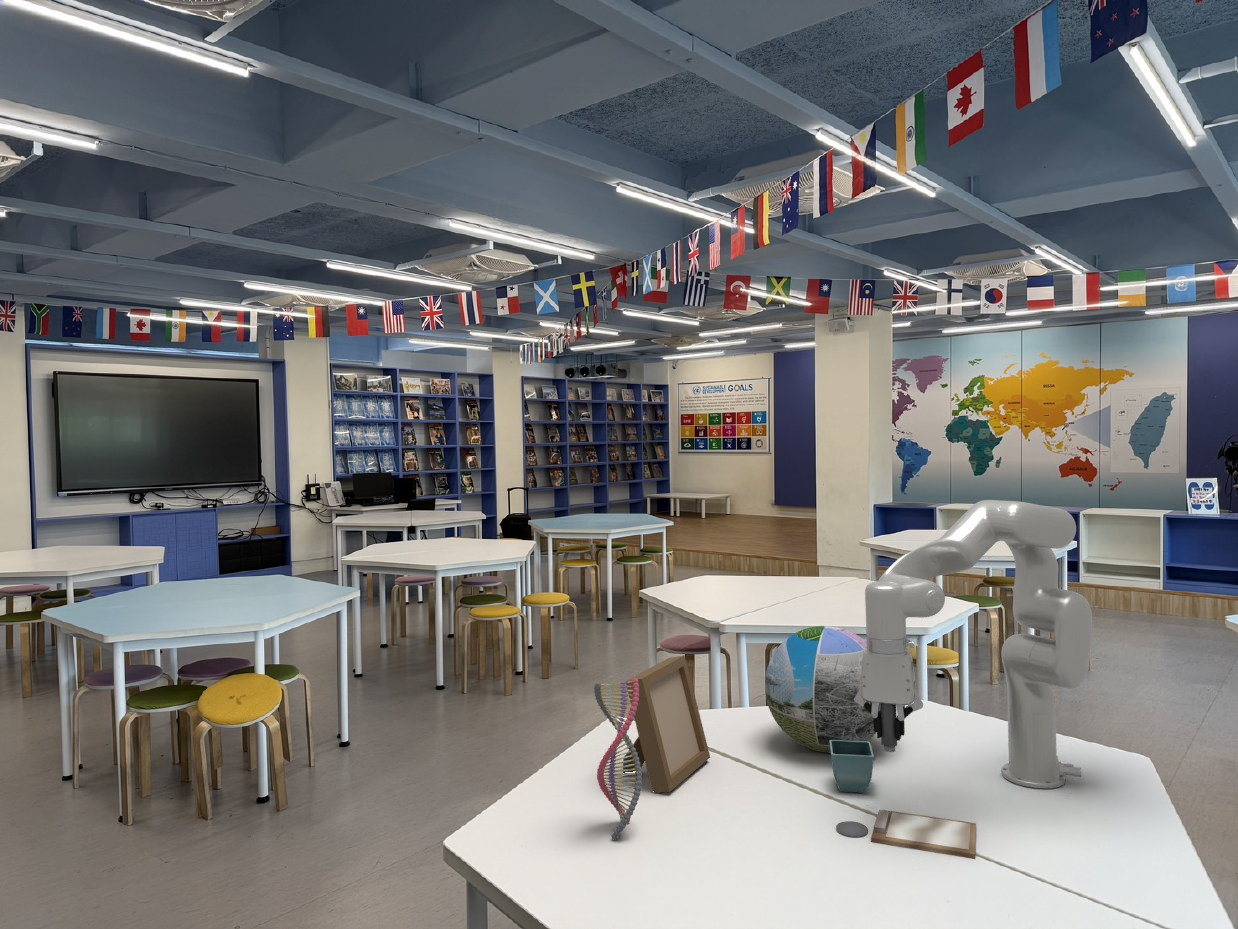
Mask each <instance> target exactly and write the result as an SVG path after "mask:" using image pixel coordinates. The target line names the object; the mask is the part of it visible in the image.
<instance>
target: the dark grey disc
mask: <svg viewBox="0 0 1238 929" xmlns="http://www.w3.org/2000/svg"><path fill="white" fill-rule="evenodd" d="M835 830H836V832H837V833H838V834H840V835H842V836H844V837H848V838H857V839H858V838H862V837H863V838H864V837H865V836H867V835H868V834H869V828H868V827H867V826H866V825H865V824H863V823H862V822H858V821H852V820H851V821H849V820H848V821H847V820H846V821H841V822H839V823H837V824H836V825H835Z"/></svg>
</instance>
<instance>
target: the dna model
mask: <svg viewBox="0 0 1238 929" xmlns="http://www.w3.org/2000/svg"><path fill="white" fill-rule="evenodd" d="M638 682H639V681H638V679H637V678H634V679H632V681H628V682H627V680H623V681H620V682H612V683H601V682H600V681H596V682H595V683H594V688H593V689H594V690H593V691H594V697H595V700H596V703H597V704H598V706H599V708H600V710H601V711H602V713H603V714H604V715H603V716H605V717H606V718H607V720H608V721H609V723H611V725H612V727H614V730H616V731H617V734H616V736H615V738H614V740H613V741H612V743H611V744H610V745H609V747H608V748H607V751H605V753H604V754H603V756H602V758H601V759H600V761H599V764H598V768H597V771H596V773H597V774H596V779H597V782H598V786H599V789H600V790H601V792H602V793H603V795H605V798H607V800H608V801H609V802H610V805H613V808H614V809H615V811H617V813H618V815H619V823H618V825H617V826H616V827H615V829H614V830H613V833H612V834H611V836H610V837H611V839H612V840H613V839H614V841H617V839H618V838H619V837H620V835H621V833H622V832H623V831H624V829H625V828H626V826H627V825H628V822H629V823H630V821H631V818H632V817H631V816H633V815H634V811H635V809H636V807H637V805H638V801H639V800H640V798H639V797H640V795H641V791H642V780H643V777H642V775H643V774H642V769H641V767H640V765H641V764H640V762H639V757H638V753H637V752H636V748H634V743H632V739H631V738H630V736H629V735H628V731H630V726H631V725H632V722H633V721H634V720H635V719H634V716H635V712H636V711H637V706H638V701H639V684H638ZM628 683H632V684H633V685H632V686H627V685H626V684H628ZM614 685H621V686H614ZM606 686H607V687H606ZM609 686H610V687H609ZM629 687H633V690H627V688H629ZM609 689H612V690H609ZM613 689H616V690H613ZM632 691H633V694H628V692H632ZM620 692H621V693H620ZM606 696H607V697H606ZM610 696H611V697H610ZM612 696H614V697H612ZM629 696H633V698H632V699H630V698H628V697H629ZM611 700H612V701H611ZM613 700H615V701H613ZM630 700H631V701H633V702H632V703H631V702H630V703H629V702H627V701H630ZM611 703H612V704H611ZM619 704H620V705H619ZM629 706H630V707H629ZM617 708H619V709H617ZM611 710H612V711H611ZM626 710H629V711H626ZM619 712H620V713H619ZM614 714H615V715H614ZM626 714H628V715H626ZM616 715H618V716H619V717H618V716H616ZM623 742H624V743H623ZM622 743H623V744H622ZM624 746H626V747H624ZM623 747H624V748H623ZM622 748H623V749H622ZM618 750H619V751H618ZM626 750H628V751H626ZM623 751H625V752H623ZM621 752H623V753H621ZM627 753H631V755H630V756H626V757H624V756H625V755H626V754H627ZM623 755H624V756H623ZM620 756H623V757H620ZM618 757H619V758H618ZM627 757H632V758H633V760H627V761H622V760H623V759H624V758H627ZM617 761H620V762H617ZM631 761H633V762H634V764H629V765H625V766H623V763H627V762H631ZM616 765H617V766H616ZM618 765H619V766H618ZM628 766H635V768H634V769H624V770H623V767H628ZM621 768H622V769H621ZM616 769H618V770H616ZM631 770H635V771H636V772H635V773H624V774H623V771H631ZM621 772H622V773H621ZM622 775H628V776H632V775H635V777H617V776H622ZM616 780H635V782H634V781H616ZM621 784H624V785H621ZM625 784H626V785H625ZM627 784H629V785H634V786H628V785H627ZM623 788H626V789H631V790H633V791H630V790H626V789H623ZM618 791H619V792H618ZM621 792H625V793H628V794H624V793H621ZM629 793H630V795H629ZM631 794H633V795H631ZM623 796H624V797H628V798H631V800H629V799H628V798H624V797H623ZM621 799H622V800H624V801H626V802H629V804H628V803H626V802H624V801H622V800H621ZM624 805H625V806H626V807H625V806H624ZM627 807H628V808H627Z"/></svg>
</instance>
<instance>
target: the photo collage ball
mask: <svg viewBox="0 0 1238 929" xmlns="http://www.w3.org/2000/svg"><path fill="white" fill-rule="evenodd" d="M864 649H867V640H865V639H863V638H862V637H861V636H859V635H858V634H856V633H854V632H852V631H850V630H847V629H844V628H841V627H837V626H831V625H817V626H811V627H807V628H804V629H801V630H798V631H796V632H795V633H793V634H791V635H790V636H788V637H787V638H786V639H785V640H783V642H782V643H780V645H779V646H778V647H777V648H776V649H775V651H774V653H773V654H772V656H771V658H770V660H769V662H768V665H767V668H766V672H765V677H764V693H765V699H766V702H767V705H768V709H769V712H770V713H771V716H772V717H773V719H774V721H775V722H776V724H777V725H778V727H779V728H780V729H781V730H782V731H783V732H784V734H785V735H787V736H788V737H789V739H791V740H793V741H794V742H796V743H797V744H799V745H801V746H803V747H805V748H807V749H810V750H812V751H817V752H820V753H830V754H831V750H830V742H829V741H830V740H844V741H866V742H869V740H871V739H872V738H873V737H874V736H875V735H877V732H874V720H873V717H872V716H871V714H870V713H869V712H868V711H867V710H866V709H865V708H864V707H863V706H861V705H860V704H858V703H856V702H855V701H854V698H855V696H856V695H857V693H858V691H859V689H860V687H861V667H862V658H863V652H864ZM871 703H872V702H871Z"/></svg>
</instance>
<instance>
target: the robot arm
mask: <svg viewBox="0 0 1238 929" xmlns="http://www.w3.org/2000/svg"><path fill="white" fill-rule="evenodd" d="M1076 532H1077V525H1076V521H1075V519H1074V517H1073V515H1072V514H1071V513H1070V512H1068V510H1065V509H1064V508H1059V507H1054V506H1047V505H1042V504H1036V503H1031V502H1025V501H1017V500H997V499H984V500H979V501H978V502H976V503H974V504H972V506H970V507H969V508H968V510H967V511H965V513H964V514H963V515H961V517H960V518H958V520H956V522H954V523H953V525H951V527H950V528H949V529H948V530H946V532H945V533H944V534H943V535H941V537H939V538H938V539H935V540H933V541H930V542H929V543H926V544H924V545H922V546H920V547H918V548H915V549H914V550H911V551H909V552H907V553H906V554H903V555H902V556H901V557H899V558H898V559H897V560H895V561H894V562H893V563H892V564H891V565H890V566H889V567H888V568H887V569H886V570H885V571H884V572H883V573H882V574H881V576H880V577H879V579H878V580H877V581H874V582H871V583H868V584H867V585H866V586H865V590H864V602H865V603H864V604H865V630H866V642H867V649H864V652H863V658H862V667H861V687H860V689H859V691H858V693H857V695H856V696H855V698H854V701H855V702H856V703H858V704H860V705H861V706H863V707H864V708H865V709H866V710H867V711H868V712H869V713H870V714H871V716H872V717H873V720H874V732H876V738H877V739H879V740H881V714H880V703H884V704H895V705H896V717H897V719H896V721H895V729H896V740H897V742H898V741H899V742H900V741H901V739H902V736H905V732H906V731H905V719H906V718H907V717H909V716H910V715H911V714H913V713H914V712H916V711H919V710H922V709H923V707H924V703H923V700H922V698H921V696H920V695H919V694H918V692H917V684H916V674H915V666H914V665H915V664H914V660H913V656H912V652H911V651H910V650H908V649H915V641H914V640H910V639H909V638H908V636H907V618H923V619H924V618H930V617H933V616H935V615H937V614H939V612H941V611H942V609H943V608H944V605H945V603H946V596H945V592H944V590H943V589H942V587H941V586H940V585H939V584H938V583H936V582H935V581H932V580H929V579H931V578H935V577H938V576H939V577H940V576H946V575H952V574H956V573H960V572H964V571H968V570H970V569H972V568H973V567H974V566H975V565H976V564H977V563H978V562H979V561H980V560H981V559H982V558H983V557H984V555H985V554H986V553H987V552H988V551H989V550H991V548H992V547H993V546H994V545H995V544H996V543H997V542H1004V543H1005V544H1006V545H1007V547H1008V548H1009V550H1010V551H1011V554H1012V556H1013V559H1014V563H1015V564H1014V566H1015V569H1014V570H1015V571H1014V585H1013V586H1014V588H1013V598H1012V599H1013V600H1012V615H1013V618H1014V620H1015V621H1016V623H1017V624H1019V625H1020V626H1022V627H1025V628H1028V629H1032V630H1038V631H1042V632H1046V633H1053V634H1054V635H1055V637H1054V638H1055V639H1053V638H1049V637H1046V636H1045V637H1044V636H1041V635H1035V634H1029V633H1015V634H1013V635H1010V636H1009V637H1007V638H1006V639H1005V640H1004V642H1003V644H1002V647H1001V651H1000V655H1001V662H1002V667H1003V671H1004V675H1005V682H1006V694H1007V698H1006V699H1007V738H1008V740H1007V741H1008V742H1007V744H1008V745H1007V746H1008V763H1006V764H1004V765H1002V767H1001V769H1000V771H1001V775H1002V777H1004V779H1006V780H1007V781H1009V782H1011V783H1013V784H1016V785H1019V786H1023V787H1028V788H1033V789H1034V788H1035V789H1055V788H1059V787H1061V786H1063V785H1064V784H1065V782H1066V776H1071V777H1076V778H1077V777H1078V778H1081V777H1082V769H1081V767H1076V766H1074V765H1075V764H1073V763H1062V761H1059V757H1058V755H1057V750H1058V748H1057V715H1056V713H1057V712H1056V711H1057V704H1056V702H1057V701H1056V697H1055V694H1054V692H1053V688H1052V687H1051V685H1052V686H1054V687H1059V688H1062V689H1072V690H1073V689H1077V688H1078V687H1079V688H1080V687H1081V686H1082V685H1083V684H1084V682H1085V680H1086V679H1087V676H1088V673H1089V668H1090V658H1091V647H1092V645H1091V644H1092V633H1093V631H1092V630H1093V612H1092V611H1093V610H1092V608H1091V605H1090V603H1089V601H1088V599H1087V598H1086V597H1085V596H1084V595H1083V594H1080V593H1079V592H1076V591H1073V590H1067V589H1062V588H1059V563H1058V559H1057V557H1056V554H1055V553H1054V551H1053V549H1056V550H1058V549H1064V548H1065V547H1067V546H1069V545H1070V544H1072V542H1073V540H1074V539H1075V536H1076ZM871 702H872V703H871Z"/></svg>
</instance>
